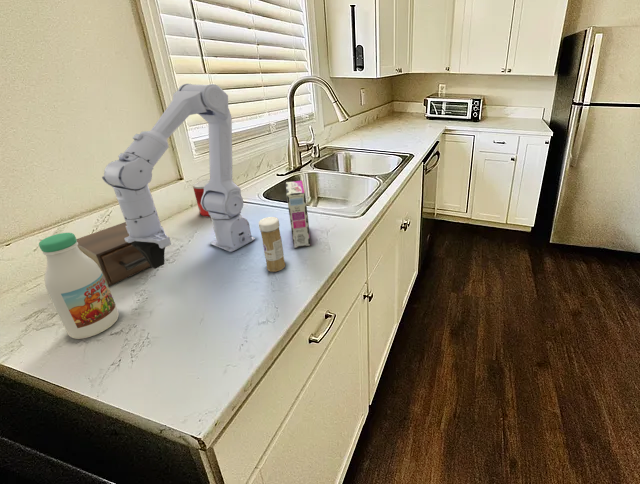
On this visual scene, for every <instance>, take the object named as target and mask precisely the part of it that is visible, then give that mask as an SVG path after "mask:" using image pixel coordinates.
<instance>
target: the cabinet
mask: <svg viewBox="0 0 640 484" xmlns="http://www.w3.org/2000/svg"><path fill="white" fill-rule="evenodd" d="M126 226H127V225H126V222H125V221H124V222H121V223H119V224H116V225H113V226H110V227H107V228H105V229H101V230H99V231H96V232H93V233H90V234H87V235H84V236H82V237H81V236H80V237H78V238H76V240H77V242H78V245H77V247H78V248H79V249H80V250H81V251H82V252H83V253H84V254H85V255H86V256H88V257H89V258H91V259H92V260H93V261H94V262H95V263H96V264H97V265H98V266H99V268H100V269H101V271H102V274H103V276H104V278H105V280H106V283H107V285H108V287H111V286H113V285H114V284H117V283H118V282H121V281H123V280H125V279H127V278H130V277H131V276H134V275H136V274H138V273H140V272H142V271H144V270H146V269H148V268H150V267H151V266H148V267H146V268H144V269H141V270H139V271H137V272H135V273H133V274H131V275H129V276H127V277H124V278H122V279H120V280H118V281H116V282H114V283H112V282H110V279H109V277H108V274H107V272H106V269H105V267H104V264H103V262H102V259H101V257H100V255H103V254H105V253H108V252H110V251H113V250H115V249H118V248H120V247H123V246H125V245H128V244H130V243H128V242H126V241H125V239H124V238H126V237H128V236H129V233H128V232H127V229H126ZM133 242H134V241H133ZM131 243H132V242H131ZM151 268H152V267H151Z"/></svg>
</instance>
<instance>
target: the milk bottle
mask: <svg viewBox="0 0 640 484" xmlns="http://www.w3.org/2000/svg"><path fill="white" fill-rule="evenodd" d="M76 239H77V237H76V234H74V233H72V232H62V233H61V232H60V233H56V234H53V235H50V236H47V237H45V238H43V239H42V240H40V241H39V243H38V247H39V249H40V251H41V252H42V255H44V256H45V257H46V270H45V273H44V285H45V289H46V291H47V294H48V296H49V298H50V301H51V303H52V305H53V307H54V309H55V312H56V313H57V315H58V317H59V319H60V322H61V324H62V325H63V327H64V329H65V331H66V333H67V335H68V336H69V337H70V338H72V339H75V340H81V339H82V340H83V339H87V338H91V337H94V336H96V335H99V334H101V333H102V332H104V331H106V330H108V329H109V328H110V327H112V326H114V325H115V323H116V322H117V321H118V319H119V315H120V312H119V310H118V306H117V304H116V302H115V299H114V297H113V295H112V292H111V289H110V288H109V287H110V286H108V285H107V283H106V280H105V278H104V276H103V274H102V271H101V269H100V268H99V266H98V265H97V264H96V263H95V262H94V261H93V260H92V259H91V258H89V257H88V256H86V255H85V254H84V253H83V252H82V251H81V250H80V249H79V248H78V247H77V245H78V242H77V240H76Z"/></svg>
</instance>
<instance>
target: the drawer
mask: <svg viewBox="0 0 640 484" xmlns="http://www.w3.org/2000/svg"><path fill="white" fill-rule="evenodd" d="M100 257H101V259H102V262H103V264H104V267H105V269H106V272H107V274H108V277H109V279H110V282H112V283H114V282H116V281H118V280H120V279H122V278H124V277H127V276H129V275H131V274H133V273H135V272H137V271H139V270H141V269H144V268H146V267H148V266H150V264H149V263H148V262H147V260H146V259H145V257H144V256H143V255H142V254H141V252H140V251H139V250H137V249H136V248H135V247H134V246H132V245H131V243H130V244H129V245H126V246H124V247H121V248H119V249H116V250H114V251H111V252H108V253H105V254H103V255H100ZM148 268H149V267H148ZM146 269H147V268H146ZM144 270H145V269H144ZM129 277H130V276H129ZM127 278H128V277H127Z"/></svg>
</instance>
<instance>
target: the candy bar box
mask: <svg viewBox="0 0 640 484" xmlns="http://www.w3.org/2000/svg"><path fill="white" fill-rule="evenodd" d="M285 190H286V200H287V206H288V208H287V209H288V214H289V223H290V230H291V237H292V243H293V249H299V248H305V247H310V246H312V243H311V231H310V223H309V215H308V206H307V196H306V191H305V186H304V181H303V180H292V181H286V182H285Z"/></svg>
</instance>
